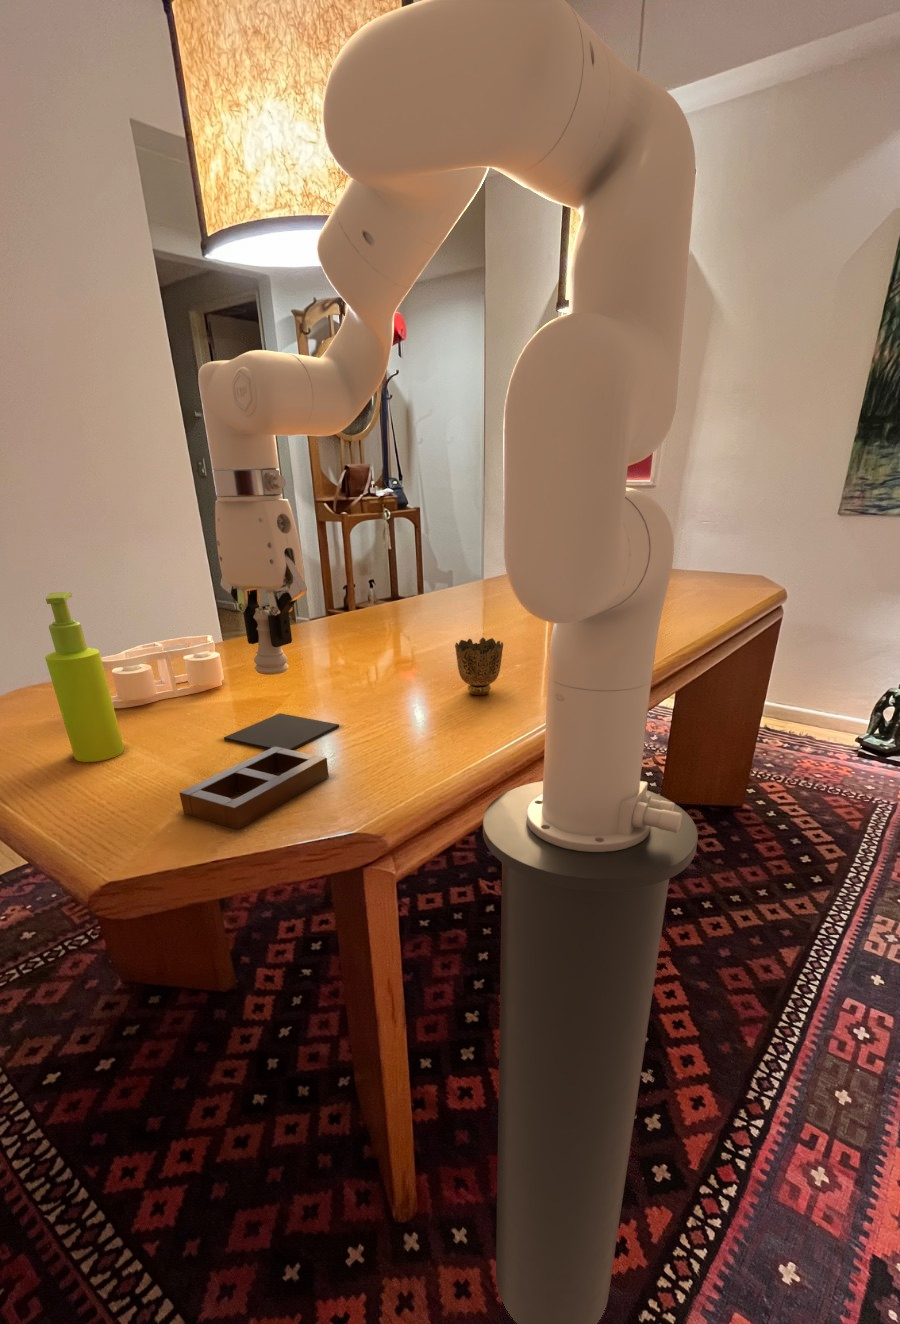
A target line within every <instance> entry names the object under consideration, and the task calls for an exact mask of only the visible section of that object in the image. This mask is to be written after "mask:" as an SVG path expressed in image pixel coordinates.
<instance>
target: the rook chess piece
mask: <svg viewBox="0 0 900 1324" xmlns="http://www.w3.org/2000/svg"><path fill="white" fill-rule="evenodd" d="M258 609H259V610H258ZM263 609H264V608H263V606H260V607H259V608H256V609H255V611H256V613H255V615H254V616H253V618H254V619H255V620H256V621H257V623H258V627H257V628H256V629H257V630H258V635H259V643H257V644H258V647H257V651H256V652H255V653H256V655H255V656H254V657H253V662H254V664H256V665H254V666H253V668H254V670H255V671H256V672H257V673H258V674H261V675H266V676H273V675H274V676H275V675H281V674H284V673H285V672H287V670H288V668H289V666H290V665H289V663H287V662H288V659H289V658H288V657H287V655H286V654H285V652H284V650H283V648H282V646H280V647H273V646H272V644H271V637H270V630H269V623H268V615H271V614H272V613H271V611H270V606H265V609H264V610H263Z"/></svg>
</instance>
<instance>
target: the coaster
mask: <svg viewBox="0 0 900 1324" xmlns="http://www.w3.org/2000/svg"><path fill="white" fill-rule="evenodd" d="M338 728H340V724H339V723H332V722H329V721H322V720H317V719H312V718H306V717H301V716H296V715H290V714H285V713H277V714H274V715H273V716H270V717H267V718H265V719H263V720H261V721H258V722H256V723H254V724H251V725H249V726H247V727H244V728H242V729H240V730H238V731H235V732H232V733H231V734H228V735H226V736H223V739H224V741H228V742H232V743H235V744H240V745H245V746H250V747H254V748H259V749H262V750H268V749H271V748H273V747H280V748H284V749H289V750H294V751H296V749H299V748H300V747H302V746H305V745H307V744H309V743H311V742H312V741H314V740H316V739H318V738H320V737H322V736H324V735H326V734H328V733H330V732H332V731H335V730H336V729H338Z"/></svg>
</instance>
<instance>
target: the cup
mask: <svg viewBox="0 0 900 1324" xmlns="http://www.w3.org/2000/svg"><path fill="white" fill-rule="evenodd" d="M454 648H455V657H456V664H457V669H458V674H459V675H460V678H461V680H462V681H463V682H464V683H465V684H467V691H468V693H469V694H471V695H472V696H473V695H474V696H485V695H487V694H489V693H490V691H491V689H492V687H491V684H493V683H494V682H496V680H497V678H498V677H499V675H500V670H501V665H502V657H503V650H504V649H503V648H504V642H503V641H500V640H497V642H496V640H495V639H494V638H493V637H491V638H489V639H487V640H486V638H485V637H481V638H480V639H479V641H478V642H473V639H471V638H468V639H467V640H464V639H461V640H459V643H458V642H455V644H454Z"/></svg>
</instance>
